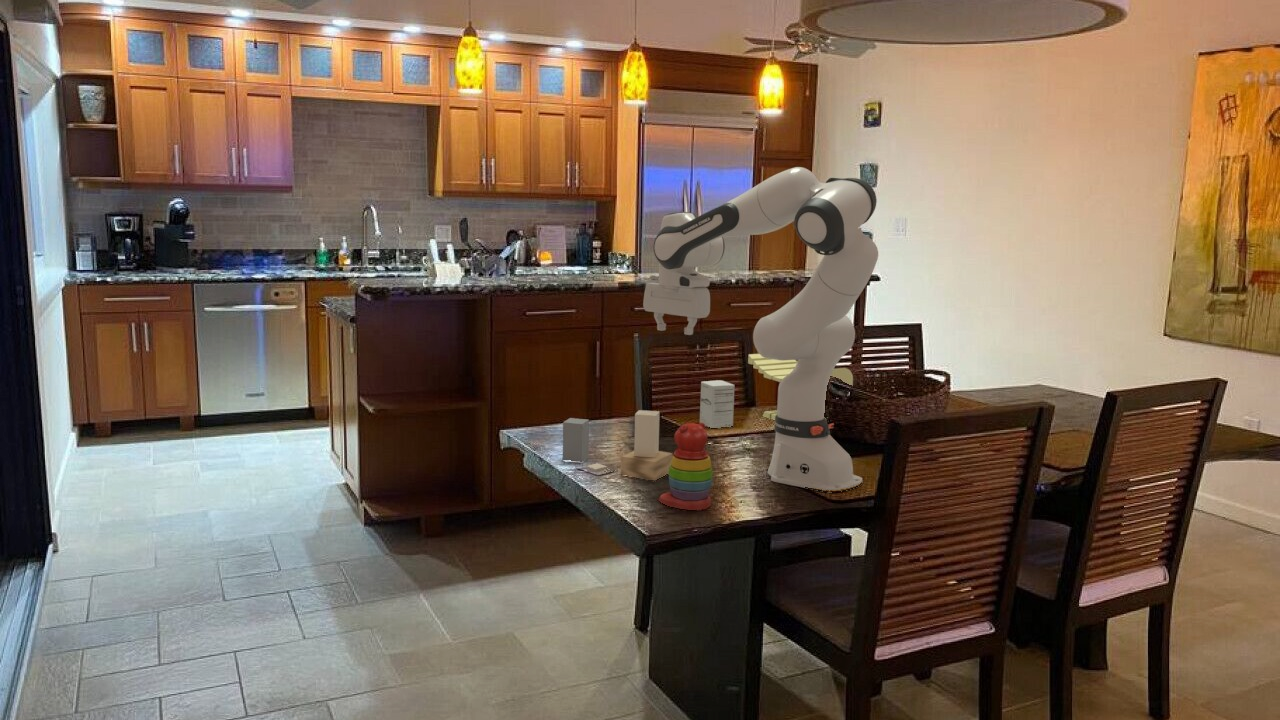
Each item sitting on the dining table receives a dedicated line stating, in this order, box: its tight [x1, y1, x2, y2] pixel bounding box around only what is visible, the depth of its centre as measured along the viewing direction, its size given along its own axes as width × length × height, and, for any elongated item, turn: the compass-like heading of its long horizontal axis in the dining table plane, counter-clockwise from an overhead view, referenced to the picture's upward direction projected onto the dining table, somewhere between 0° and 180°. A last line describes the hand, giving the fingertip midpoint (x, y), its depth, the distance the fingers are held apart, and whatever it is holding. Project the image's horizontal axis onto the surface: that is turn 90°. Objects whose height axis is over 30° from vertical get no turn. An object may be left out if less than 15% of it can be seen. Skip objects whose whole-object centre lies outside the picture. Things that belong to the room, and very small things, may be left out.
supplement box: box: [699, 379, 735, 429], centre depth 276 cm, size 7×7×13 cm
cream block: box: [633, 409, 661, 458], centre depth 225 cm, size 5×5×10 cm
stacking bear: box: [658, 422, 714, 511], centre depth 203 cm, size 11×10×18 cm
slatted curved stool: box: [747, 353, 854, 420], centre depth 285 cm, size 30×16×18 cm, turn 28°
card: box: [586, 462, 617, 473], centre depth 229 cm, size 8×6×1 cm
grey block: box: [562, 417, 590, 462], centre depth 236 cm, size 5×5×10 cm
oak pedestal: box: [620, 450, 674, 481], centre depth 226 cm, size 9×9×5 cm
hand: (674, 332), depth 242 cm, fingers open, 8 cm apart
